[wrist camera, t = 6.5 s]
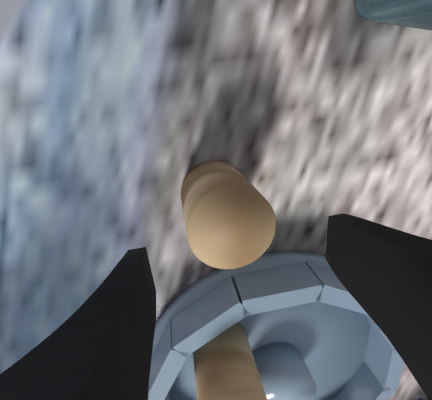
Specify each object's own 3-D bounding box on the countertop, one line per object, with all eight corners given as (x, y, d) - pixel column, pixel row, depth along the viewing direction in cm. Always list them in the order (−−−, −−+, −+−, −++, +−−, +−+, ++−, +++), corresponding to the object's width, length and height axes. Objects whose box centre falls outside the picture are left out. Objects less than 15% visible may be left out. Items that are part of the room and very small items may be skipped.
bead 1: (182, 225, 17) (188, 273, 13) (179, 161, 16) (186, 190, 11) (244, 220, 18) (272, 265, 13) (247, 159, 17) (279, 185, 12)
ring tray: (167, 452, 26) (167, 503, 23) (115, 280, 18) (105, 322, 15) (364, 401, 28) (390, 442, 25) (395, 229, 20) (438, 256, 17)
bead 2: (223, 366, 21) (239, 442, 17) (180, 349, 20) (184, 427, 15) (256, 331, 21) (282, 402, 16) (214, 311, 19) (229, 381, 15)
